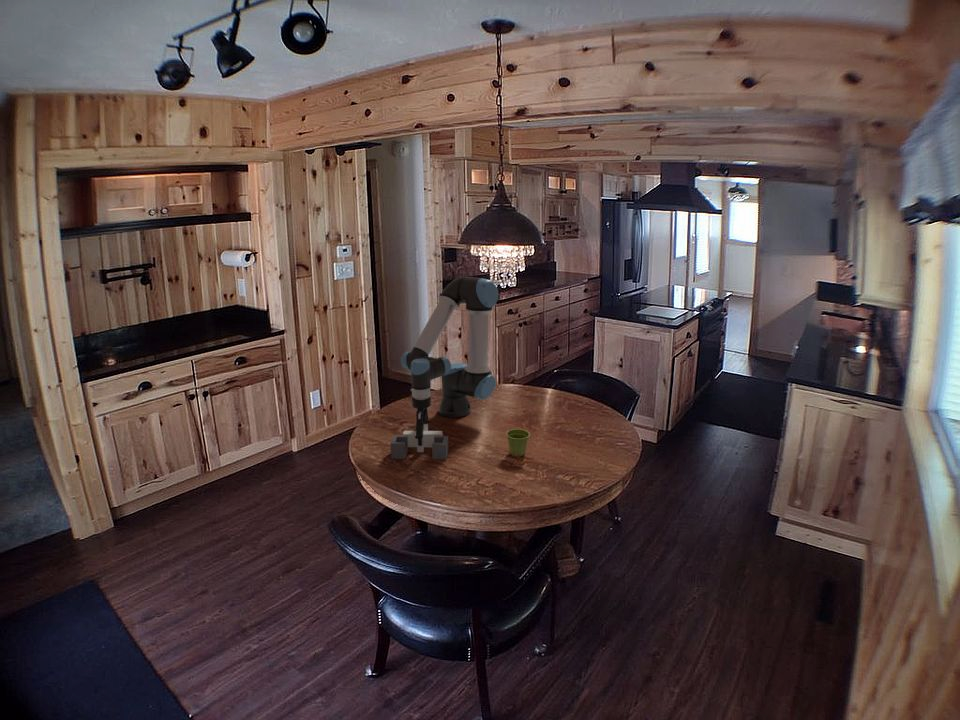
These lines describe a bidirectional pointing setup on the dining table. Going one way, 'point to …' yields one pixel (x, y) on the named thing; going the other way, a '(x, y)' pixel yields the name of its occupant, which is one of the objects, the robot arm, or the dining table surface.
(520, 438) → the plant pot
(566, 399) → the dining table surface
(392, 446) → the endcap rack
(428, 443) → the light grey long block
